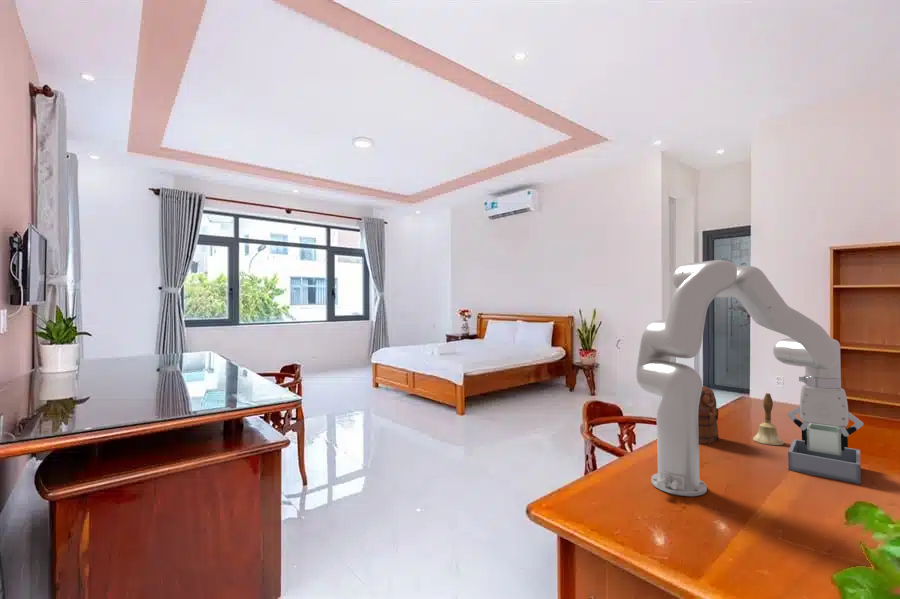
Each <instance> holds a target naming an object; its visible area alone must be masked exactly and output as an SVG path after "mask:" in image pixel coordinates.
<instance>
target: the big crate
mask: <svg viewBox="0 0 900 599" xmlns="http://www.w3.org/2000/svg"><path fill="white" fill-rule="evenodd" d="M787 458H788V459H787V460H788V461H787V462H788V468H787V469H788V471H791V470H792V472H796V471H797V472H796V473H800V474H801V473H802V474H807V475H812V476H816V477H822V478H827V479H831V480H835V481H841V482H842V481H843V482H847V483H852V484H855V485H860V484H861V483H862V480H861V477H862V476H861V474H862V472H861V470H862V469H861V449H858V448H852V447H851V448H850V447H848V448H847V447H845V450H844V451H842V452H841V456H839V455H833V454H827V453H821V452H815V451H810V450H807V445H805V441H803V440H802V439H796V438H793V439H792V442H791V444H790V446H789V449H788V452H787ZM861 485H862V484H861Z"/></svg>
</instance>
